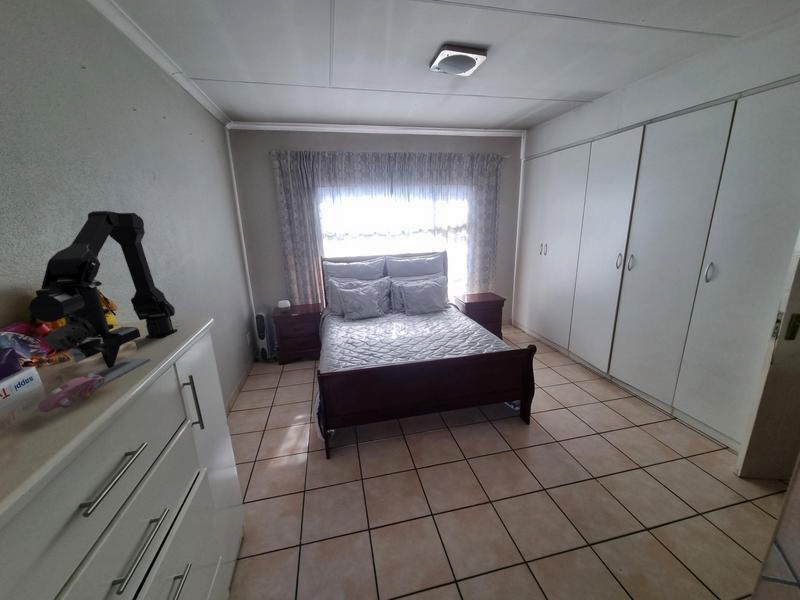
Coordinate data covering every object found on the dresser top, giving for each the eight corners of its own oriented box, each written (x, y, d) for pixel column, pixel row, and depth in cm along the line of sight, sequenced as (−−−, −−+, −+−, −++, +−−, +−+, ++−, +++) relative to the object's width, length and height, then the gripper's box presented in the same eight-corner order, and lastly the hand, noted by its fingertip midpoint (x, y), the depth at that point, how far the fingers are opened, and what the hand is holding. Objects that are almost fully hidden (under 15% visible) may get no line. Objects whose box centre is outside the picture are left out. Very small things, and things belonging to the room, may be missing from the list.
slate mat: (120, 359, 87) (120, 358, 87) (150, 360, 87) (149, 358, 86) (55, 391, 72) (54, 389, 72) (90, 392, 71) (90, 390, 71)
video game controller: (51, 423, 63) (56, 401, 60) (33, 410, 63) (37, 387, 61) (105, 395, 72) (111, 374, 70) (89, 383, 72) (94, 363, 70)
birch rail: (127, 351, 86) (124, 341, 86) (137, 351, 86) (135, 341, 85) (63, 382, 71) (59, 370, 70) (75, 382, 71) (71, 370, 70)
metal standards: (118, 350, 94) (112, 331, 92) (135, 350, 93) (130, 331, 92) (75, 370, 82) (68, 349, 80) (94, 370, 82) (87, 349, 80)
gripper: (8, 319, 68) (33, 383, 72) (86, 319, 66) (107, 385, 70) (65, 304, 78) (84, 361, 82) (134, 304, 77) (149, 362, 81)
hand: (105, 367), depth 79 cm, fingers closed on birch rail, 3 cm apart
